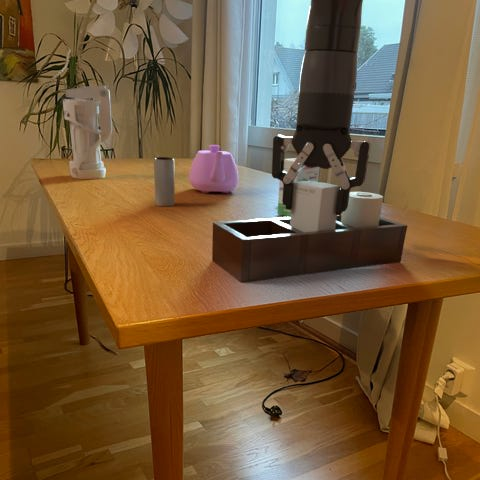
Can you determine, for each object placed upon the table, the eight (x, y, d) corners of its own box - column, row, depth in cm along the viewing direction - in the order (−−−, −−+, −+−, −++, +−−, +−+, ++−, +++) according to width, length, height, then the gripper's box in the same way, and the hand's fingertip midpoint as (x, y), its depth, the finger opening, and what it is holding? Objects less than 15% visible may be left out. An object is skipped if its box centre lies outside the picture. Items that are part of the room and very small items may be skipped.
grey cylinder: (154, 206, 109) (152, 159, 104) (156, 202, 113) (155, 156, 109) (173, 206, 109) (173, 159, 105) (175, 202, 113) (174, 157, 109)
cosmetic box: (285, 258, 76) (291, 182, 71) (304, 254, 79) (311, 180, 74) (314, 268, 72) (322, 187, 67) (332, 263, 75) (341, 185, 70)
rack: (359, 245, 85) (364, 211, 83) (400, 262, 77) (407, 225, 75) (211, 260, 74) (212, 222, 71) (240, 282, 65) (242, 239, 63)
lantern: (68, 179, 138) (58, 83, 128) (72, 173, 148) (63, 84, 137) (114, 179, 141) (108, 85, 130) (115, 174, 150) (109, 86, 140)
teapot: (186, 184, 138) (186, 141, 133) (232, 185, 140) (233, 142, 135) (193, 197, 120) (193, 148, 115) (245, 198, 122) (247, 149, 117)
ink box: (294, 218, 103) (299, 161, 98) (276, 214, 106) (280, 159, 101) (315, 213, 109) (321, 159, 104) (298, 209, 112) (302, 157, 107)
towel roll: (374, 253, 81) (384, 193, 77) (371, 263, 76) (382, 199, 71) (339, 249, 83) (347, 189, 78) (334, 258, 77) (342, 195, 73)
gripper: (268, 87, 64) (261, 210, 71) (378, 91, 60) (359, 221, 67) (283, 89, 70) (275, 202, 77) (382, 93, 66) (364, 212, 73)
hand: (314, 211), depth 72 cm, fingers closed on cosmetic box, 7 cm apart
